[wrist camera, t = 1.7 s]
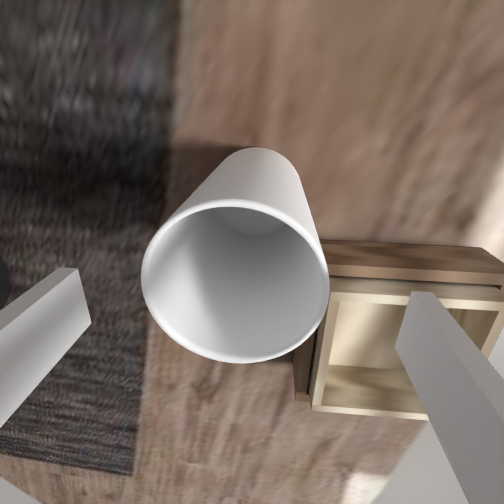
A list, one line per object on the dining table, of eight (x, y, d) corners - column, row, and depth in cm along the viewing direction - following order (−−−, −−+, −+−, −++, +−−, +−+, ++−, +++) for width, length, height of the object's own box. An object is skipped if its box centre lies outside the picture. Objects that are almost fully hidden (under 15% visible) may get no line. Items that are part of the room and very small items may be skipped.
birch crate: (305, 362, 34) (311, 410, 29) (320, 256, 29) (330, 291, 23) (428, 371, 34) (457, 422, 28) (468, 264, 28) (514, 302, 22)
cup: (243, 251, 30) (213, 385, 16) (192, 180, 27) (100, 263, 13) (318, 209, 28) (363, 321, 13) (271, 127, 25) (264, 157, 11)
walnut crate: (292, 363, 36) (295, 400, 31) (307, 238, 29) (312, 263, 25) (432, 374, 35) (455, 413, 31) (481, 247, 28) (521, 275, 24)
